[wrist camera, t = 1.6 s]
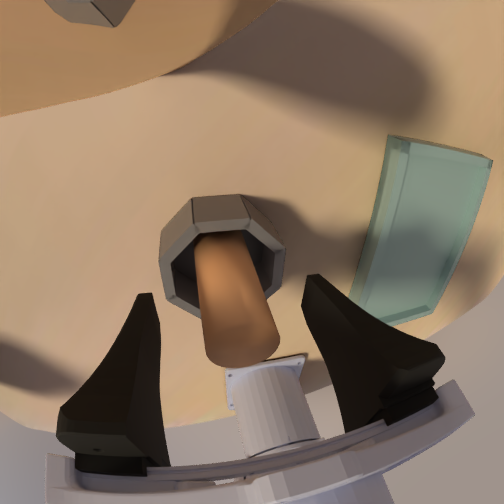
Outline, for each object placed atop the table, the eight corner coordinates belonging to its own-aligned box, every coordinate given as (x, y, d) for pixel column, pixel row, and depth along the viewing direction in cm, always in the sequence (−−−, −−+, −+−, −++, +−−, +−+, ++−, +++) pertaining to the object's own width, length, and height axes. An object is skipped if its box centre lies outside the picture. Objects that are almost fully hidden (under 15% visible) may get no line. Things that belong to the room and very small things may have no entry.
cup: (266, 281, 21) (278, 310, 18) (171, 291, 20) (171, 323, 17) (273, 192, 17) (289, 215, 15) (156, 200, 16) (152, 226, 13)
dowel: (242, 258, 19) (276, 362, 12) (195, 262, 18) (208, 372, 12) (242, 216, 17) (284, 316, 11) (191, 220, 16) (202, 328, 10)
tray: (425, 304, 29) (432, 313, 28) (338, 327, 26) (344, 339, 25) (481, 154, 19) (493, 160, 17) (388, 134, 16) (402, 140, 15)
